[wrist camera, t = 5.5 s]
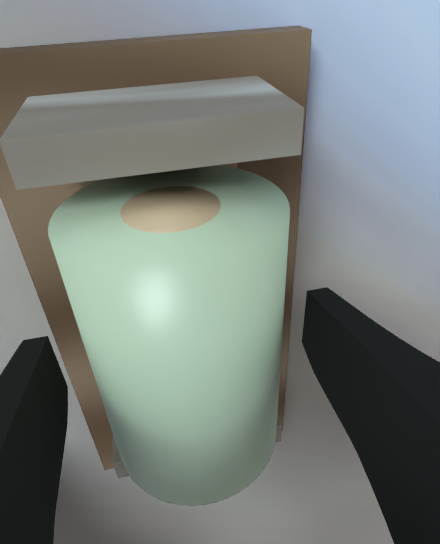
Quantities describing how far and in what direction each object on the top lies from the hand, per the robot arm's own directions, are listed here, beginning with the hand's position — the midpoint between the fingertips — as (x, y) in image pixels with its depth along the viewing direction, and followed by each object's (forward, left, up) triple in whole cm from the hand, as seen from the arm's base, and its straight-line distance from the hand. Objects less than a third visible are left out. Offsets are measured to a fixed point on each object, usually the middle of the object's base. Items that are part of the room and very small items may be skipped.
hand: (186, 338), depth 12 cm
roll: (0, 0, -2) cm, 2 cm away
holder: (-2, 0, -4) cm, 5 cm away
